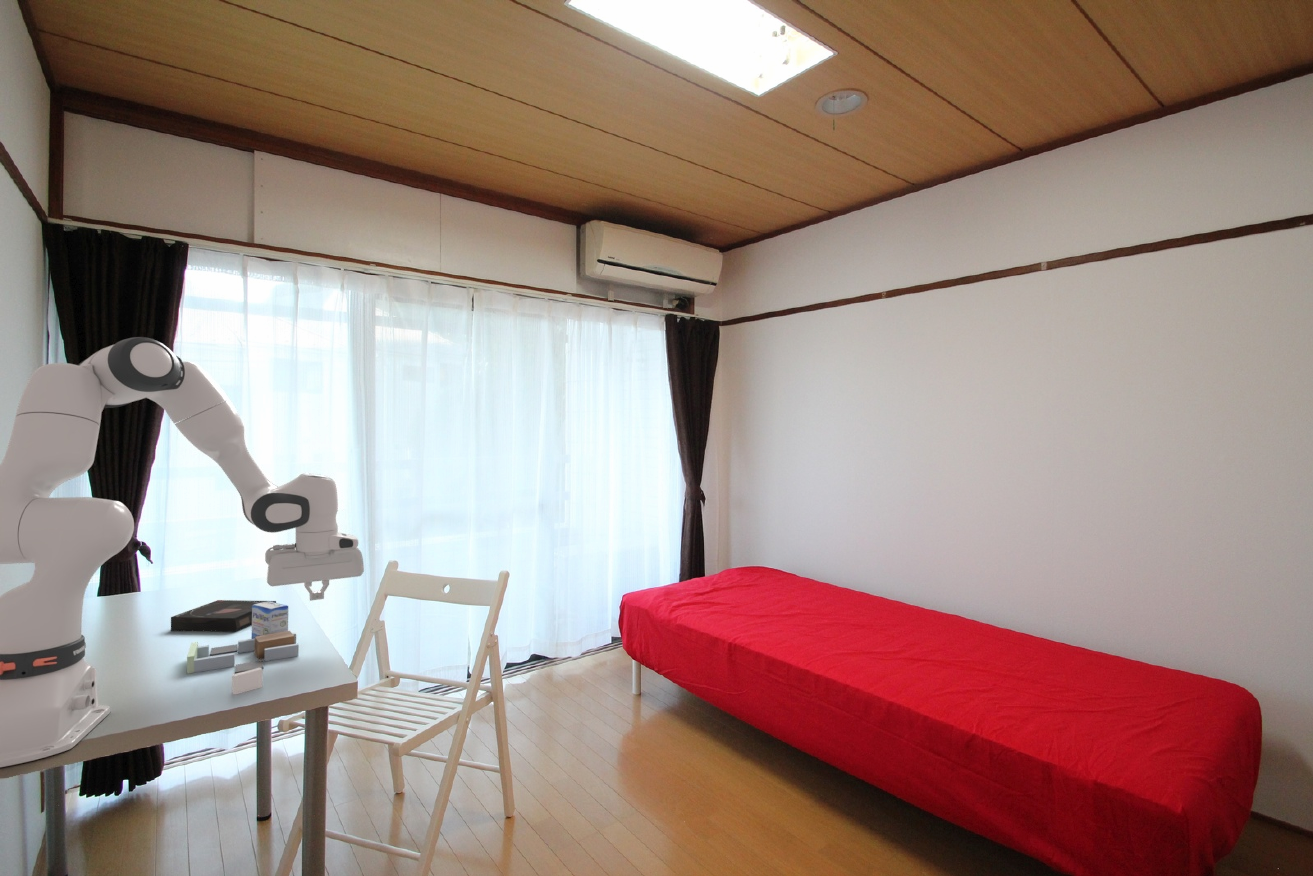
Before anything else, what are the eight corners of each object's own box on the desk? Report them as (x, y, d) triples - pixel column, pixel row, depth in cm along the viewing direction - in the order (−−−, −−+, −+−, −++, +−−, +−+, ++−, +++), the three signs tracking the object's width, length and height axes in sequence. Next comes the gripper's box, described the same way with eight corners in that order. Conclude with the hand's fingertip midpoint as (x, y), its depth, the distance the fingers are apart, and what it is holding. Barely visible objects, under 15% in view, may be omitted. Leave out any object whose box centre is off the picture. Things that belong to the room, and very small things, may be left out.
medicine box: (250, 640, 151) (251, 604, 151) (269, 635, 155) (269, 600, 155) (270, 645, 148) (270, 609, 147) (288, 640, 151) (289, 604, 151)
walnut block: (294, 653, 143) (294, 635, 143) (258, 660, 138) (258, 642, 138) (289, 647, 147) (289, 630, 147) (254, 654, 142) (254, 636, 142)
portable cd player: (237, 634, 157) (237, 618, 157) (170, 632, 158) (170, 617, 158) (278, 615, 174) (278, 601, 174) (217, 614, 174) (218, 600, 174)
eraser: (231, 693, 120) (232, 674, 120) (259, 685, 124) (260, 667, 124) (234, 695, 119) (234, 676, 120) (262, 687, 123) (262, 668, 123)
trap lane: (299, 662, 136) (299, 646, 136) (184, 681, 125) (184, 664, 125) (294, 637, 154) (294, 623, 154) (193, 652, 143) (193, 636, 143)
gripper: (265, 548, 139) (265, 609, 140) (365, 539, 151) (365, 596, 151) (264, 543, 145) (264, 602, 145) (360, 535, 156) (360, 590, 156)
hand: (316, 599), depth 148 cm, fingers closed
